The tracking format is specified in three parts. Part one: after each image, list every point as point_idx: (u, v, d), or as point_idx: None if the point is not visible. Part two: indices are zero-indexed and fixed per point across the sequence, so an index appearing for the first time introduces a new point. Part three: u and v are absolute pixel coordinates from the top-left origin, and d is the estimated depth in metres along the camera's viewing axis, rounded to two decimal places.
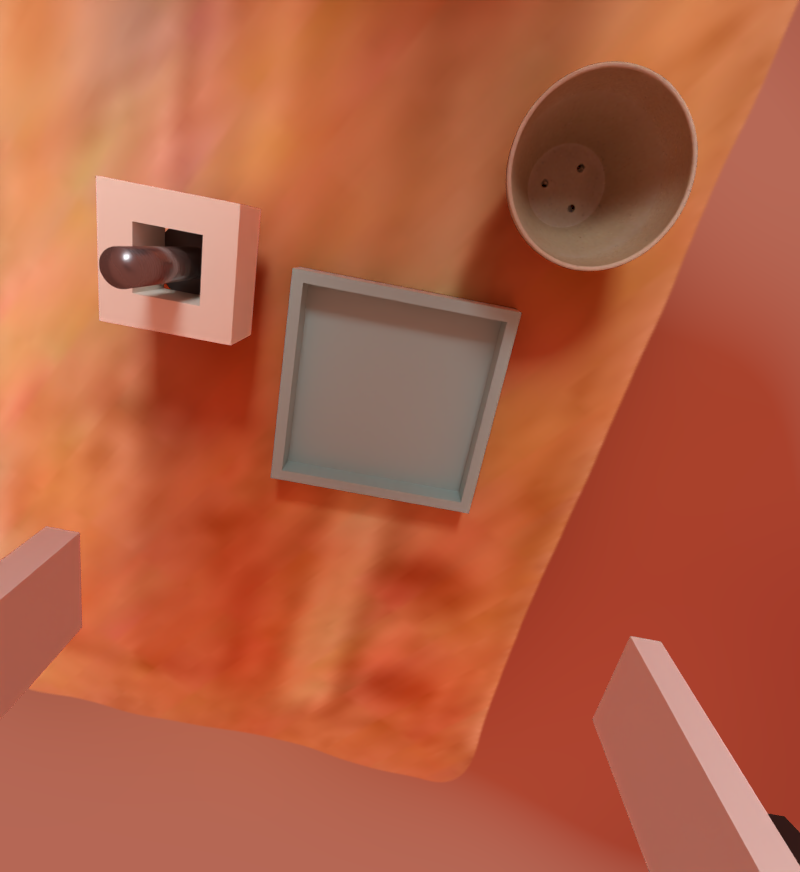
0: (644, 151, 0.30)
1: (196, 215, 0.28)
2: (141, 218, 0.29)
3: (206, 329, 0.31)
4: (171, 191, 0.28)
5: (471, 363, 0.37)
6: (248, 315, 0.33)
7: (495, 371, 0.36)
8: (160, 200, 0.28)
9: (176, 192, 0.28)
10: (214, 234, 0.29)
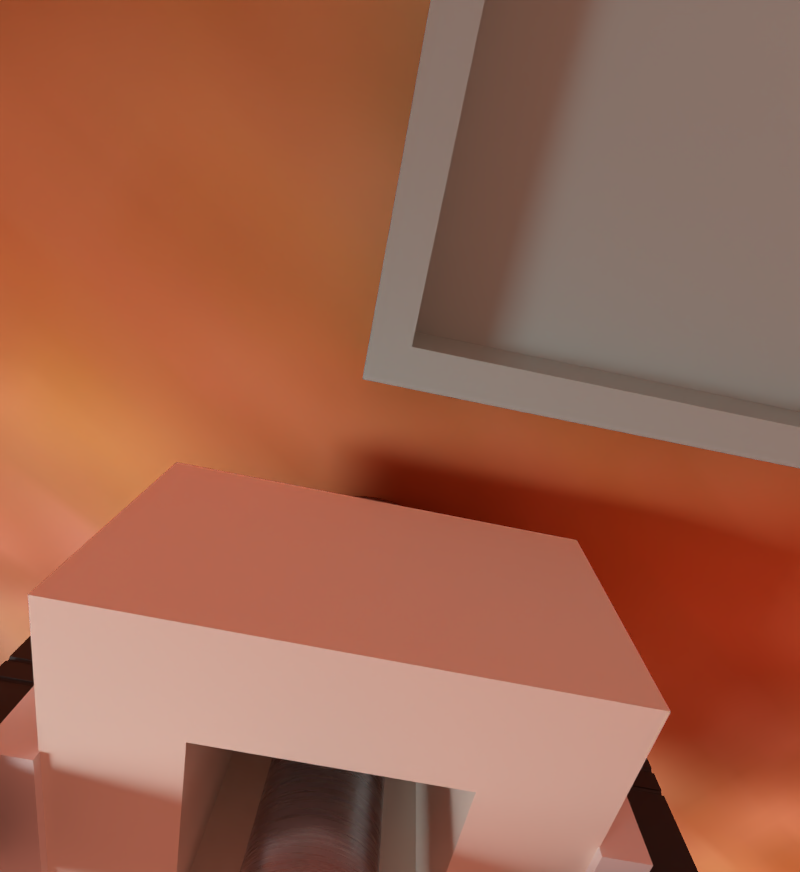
0: None
1: (114, 749, 0.07)
2: None
3: (578, 785, 0.07)
4: (46, 809, 0.07)
5: None
6: (515, 553, 0.09)
7: None
8: (87, 841, 0.08)
9: (44, 797, 0.07)
10: (177, 704, 0.07)
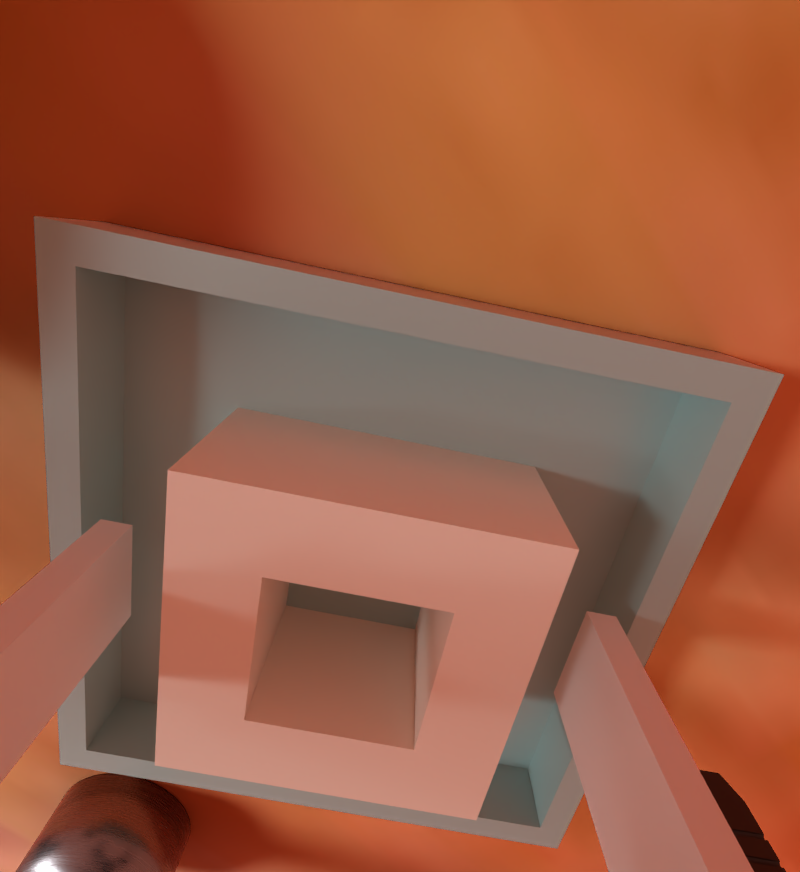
0: None
1: (213, 583, 0.10)
2: (235, 701, 0.11)
3: (522, 606, 0.10)
4: (163, 631, 0.11)
5: (268, 352, 0.13)
6: (486, 470, 0.13)
7: (244, 297, 0.10)
8: (188, 657, 0.11)
9: (163, 621, 0.11)
10: (258, 548, 0.10)
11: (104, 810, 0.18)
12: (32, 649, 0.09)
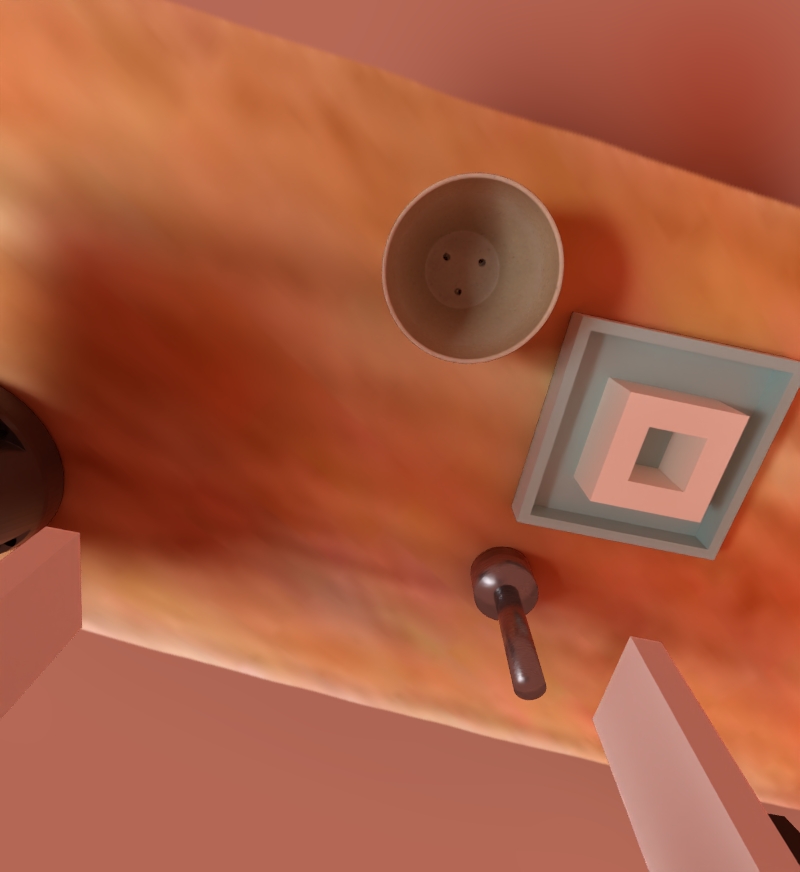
0: (443, 207, 0.30)
1: (633, 429, 0.33)
2: (627, 473, 0.35)
3: (729, 436, 0.33)
4: (611, 446, 0.34)
5: (625, 357, 0.36)
6: (703, 399, 0.36)
7: (641, 340, 0.34)
8: (616, 456, 0.34)
9: (612, 442, 0.34)
10: (650, 417, 0.33)
11: (509, 556, 0.41)
12: None
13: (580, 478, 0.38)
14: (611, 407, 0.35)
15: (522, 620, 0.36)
